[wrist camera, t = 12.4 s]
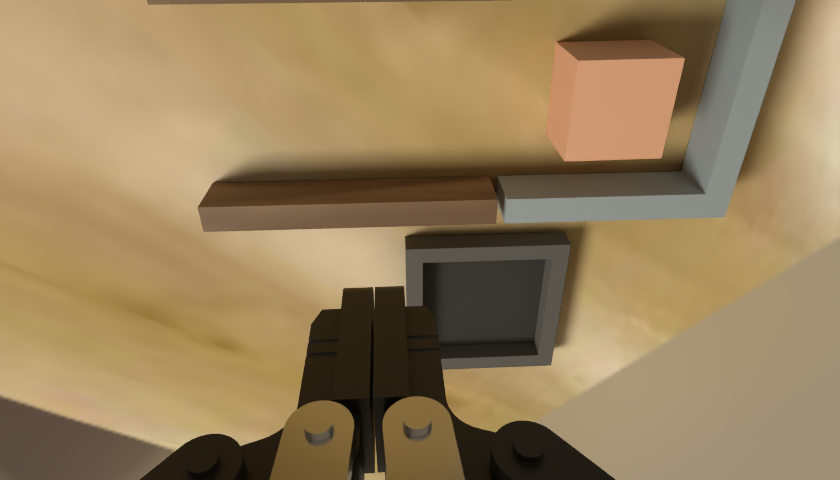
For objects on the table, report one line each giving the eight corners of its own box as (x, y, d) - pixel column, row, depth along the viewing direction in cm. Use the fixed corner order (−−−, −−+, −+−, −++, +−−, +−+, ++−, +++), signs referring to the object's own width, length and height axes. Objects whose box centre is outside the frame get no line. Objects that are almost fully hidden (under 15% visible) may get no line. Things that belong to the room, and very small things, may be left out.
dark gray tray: (405, 236, 34) (405, 249, 33) (564, 232, 35) (571, 244, 33) (407, 355, 40) (408, 370, 38) (545, 350, 40) (550, 365, 39)
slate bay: (514, -44, 26) (528, -38, 24) (769, -46, 27) (808, -40, 24) (495, 198, 33) (504, 223, 31) (699, 193, 34) (724, 217, 31)
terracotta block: (555, 41, 29) (578, 60, 25) (650, 39, 29) (684, 58, 26) (545, 132, 31) (564, 161, 28) (631, 130, 32) (661, 158, 28)
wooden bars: (163, -41, 26) (138, -34, 23) (504, -44, 26) (516, -38, 24) (218, 205, 33) (203, 231, 30) (487, 198, 33) (495, 223, 31)
